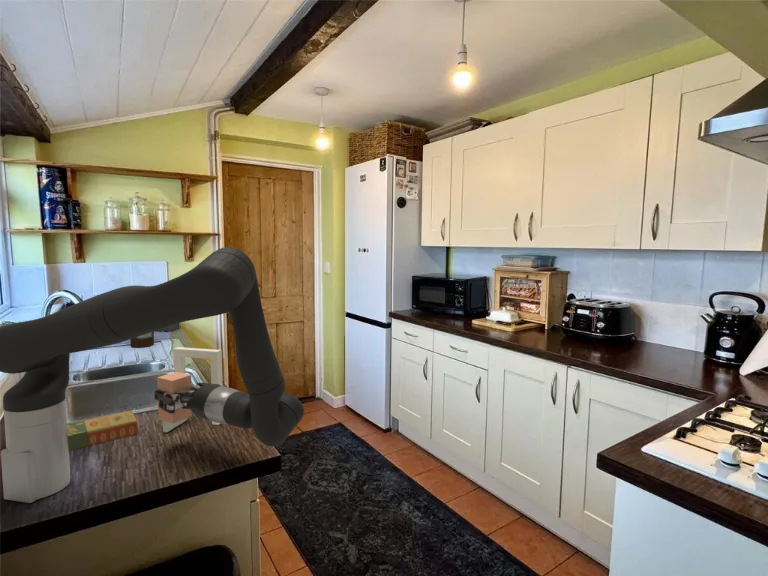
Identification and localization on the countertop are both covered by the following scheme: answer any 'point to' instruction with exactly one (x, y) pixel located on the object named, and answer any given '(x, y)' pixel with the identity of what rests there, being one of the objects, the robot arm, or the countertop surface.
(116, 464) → the countertop surface
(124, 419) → the carton
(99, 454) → the countertop surface
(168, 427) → the door
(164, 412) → the block
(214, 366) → the door frame
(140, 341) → the olive oil
